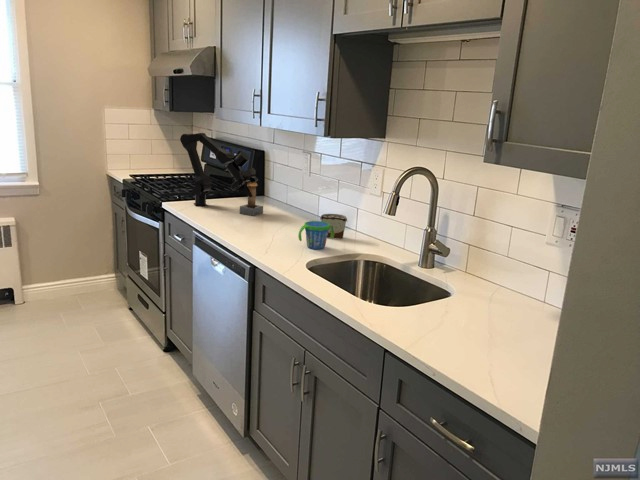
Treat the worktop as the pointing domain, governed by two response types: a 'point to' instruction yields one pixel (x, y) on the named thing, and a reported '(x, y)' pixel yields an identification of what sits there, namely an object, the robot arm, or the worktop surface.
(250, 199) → the pin
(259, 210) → the block
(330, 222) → the food container
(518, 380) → the worktop surface
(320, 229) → the snack cup
